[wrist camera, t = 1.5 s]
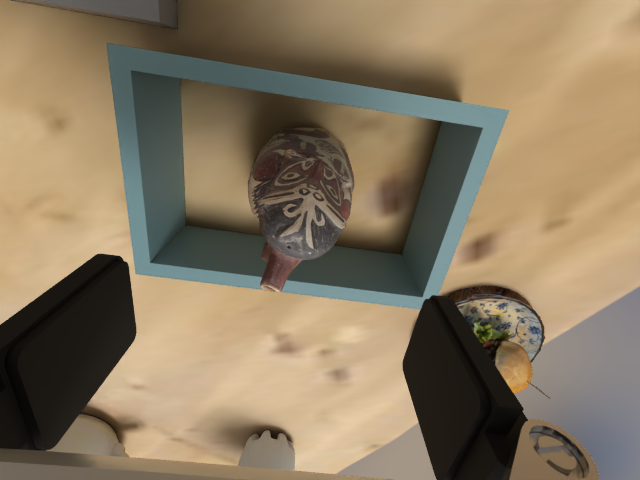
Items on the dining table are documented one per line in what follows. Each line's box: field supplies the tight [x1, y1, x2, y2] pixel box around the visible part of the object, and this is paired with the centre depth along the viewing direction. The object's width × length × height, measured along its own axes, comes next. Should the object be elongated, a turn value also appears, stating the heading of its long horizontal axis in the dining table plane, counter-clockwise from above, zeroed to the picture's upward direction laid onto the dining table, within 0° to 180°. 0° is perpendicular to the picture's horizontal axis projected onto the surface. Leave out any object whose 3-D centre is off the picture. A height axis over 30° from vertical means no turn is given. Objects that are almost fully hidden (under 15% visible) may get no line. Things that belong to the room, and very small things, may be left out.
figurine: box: [248, 127, 354, 292], centre depth 18 cm, size 7×7×12 cm
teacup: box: [46, 414, 129, 457], centre depth 34 cm, size 14×11×8 cm
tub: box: [106, 43, 509, 309], centre depth 21 cm, size 13×20×6 cm, turn 82°
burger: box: [450, 286, 549, 398], centre depth 28 cm, size 12×12×8 cm
